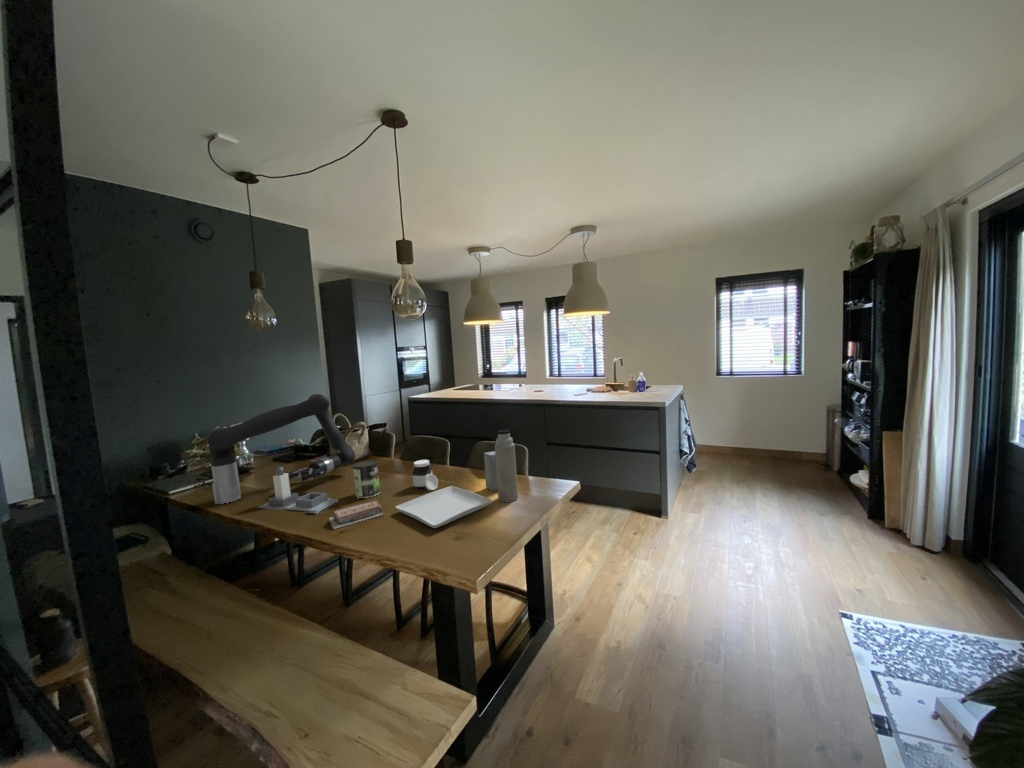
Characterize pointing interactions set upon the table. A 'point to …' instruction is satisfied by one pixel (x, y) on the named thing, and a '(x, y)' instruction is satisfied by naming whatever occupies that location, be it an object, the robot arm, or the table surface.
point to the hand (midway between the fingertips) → (294, 478)
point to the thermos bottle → (506, 467)
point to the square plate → (443, 506)
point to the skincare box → (490, 471)
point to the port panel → (312, 502)
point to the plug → (281, 484)
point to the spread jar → (424, 476)
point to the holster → (280, 502)
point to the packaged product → (355, 514)
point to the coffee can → (366, 479)
